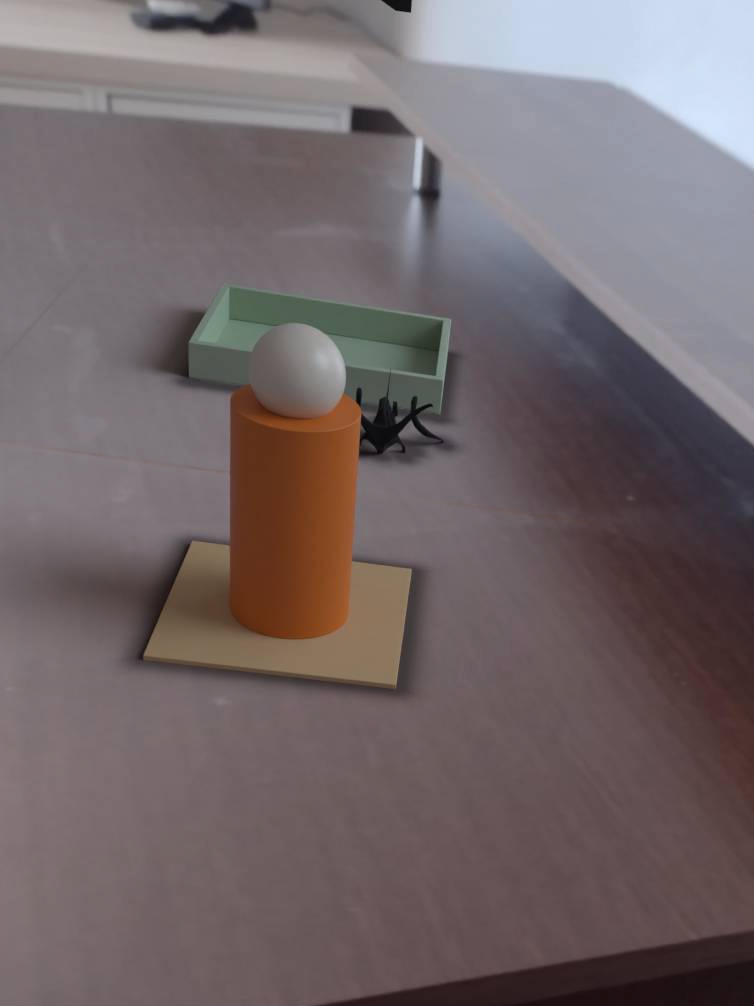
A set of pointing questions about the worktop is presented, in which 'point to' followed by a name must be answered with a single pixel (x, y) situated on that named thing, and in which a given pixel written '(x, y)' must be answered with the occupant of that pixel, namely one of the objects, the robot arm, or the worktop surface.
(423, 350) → the tray
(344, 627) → the mat
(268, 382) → the skittle
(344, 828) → the worktop surface
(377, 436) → the creature
